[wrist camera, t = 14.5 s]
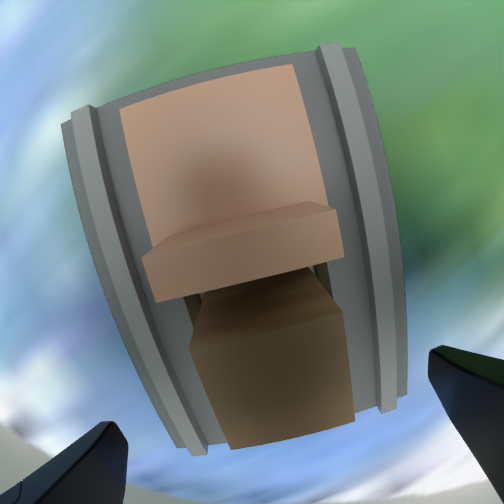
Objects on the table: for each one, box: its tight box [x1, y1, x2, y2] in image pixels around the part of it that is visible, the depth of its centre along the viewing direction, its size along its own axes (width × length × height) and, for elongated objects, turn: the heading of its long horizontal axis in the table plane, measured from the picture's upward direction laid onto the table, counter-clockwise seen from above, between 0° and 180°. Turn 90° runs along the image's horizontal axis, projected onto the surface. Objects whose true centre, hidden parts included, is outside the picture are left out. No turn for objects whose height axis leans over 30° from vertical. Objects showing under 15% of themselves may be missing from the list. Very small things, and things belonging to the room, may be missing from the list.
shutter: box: [119, 64, 345, 303], centre depth 9 cm, size 6×6×4 cm
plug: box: [188, 267, 355, 450], centre depth 12 cm, size 4×4×7 cm
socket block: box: [61, 43, 408, 456], centre depth 13 cm, size 12×16×4 cm
